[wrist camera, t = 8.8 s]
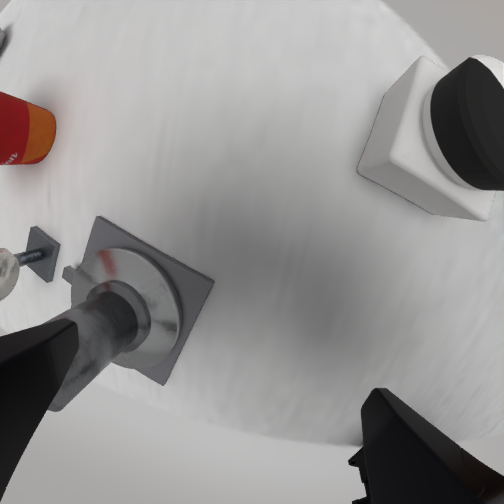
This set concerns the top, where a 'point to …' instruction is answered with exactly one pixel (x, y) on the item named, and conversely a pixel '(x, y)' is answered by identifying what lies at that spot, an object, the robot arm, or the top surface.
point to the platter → (150, 288)
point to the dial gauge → (28, 260)
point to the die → (1, 37)
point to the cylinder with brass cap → (102, 333)
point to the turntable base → (182, 277)
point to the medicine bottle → (442, 137)
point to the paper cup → (24, 131)
